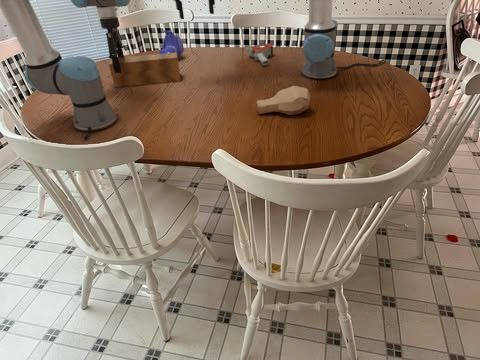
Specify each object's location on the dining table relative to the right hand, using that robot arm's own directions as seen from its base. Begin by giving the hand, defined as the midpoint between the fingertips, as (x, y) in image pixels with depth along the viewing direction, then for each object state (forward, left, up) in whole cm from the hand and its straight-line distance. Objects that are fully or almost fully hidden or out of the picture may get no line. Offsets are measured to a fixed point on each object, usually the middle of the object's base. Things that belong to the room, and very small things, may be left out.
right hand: (197, 16), depth 148 cm
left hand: (+37, -3, -20) cm, 42 cm away
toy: (+17, -30, -27) cm, 44 cm away
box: (+26, -4, -27) cm, 38 cm away
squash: (-29, +42, -27) cm, 57 cm away
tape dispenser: (-29, -22, -27) cm, 46 cm away
